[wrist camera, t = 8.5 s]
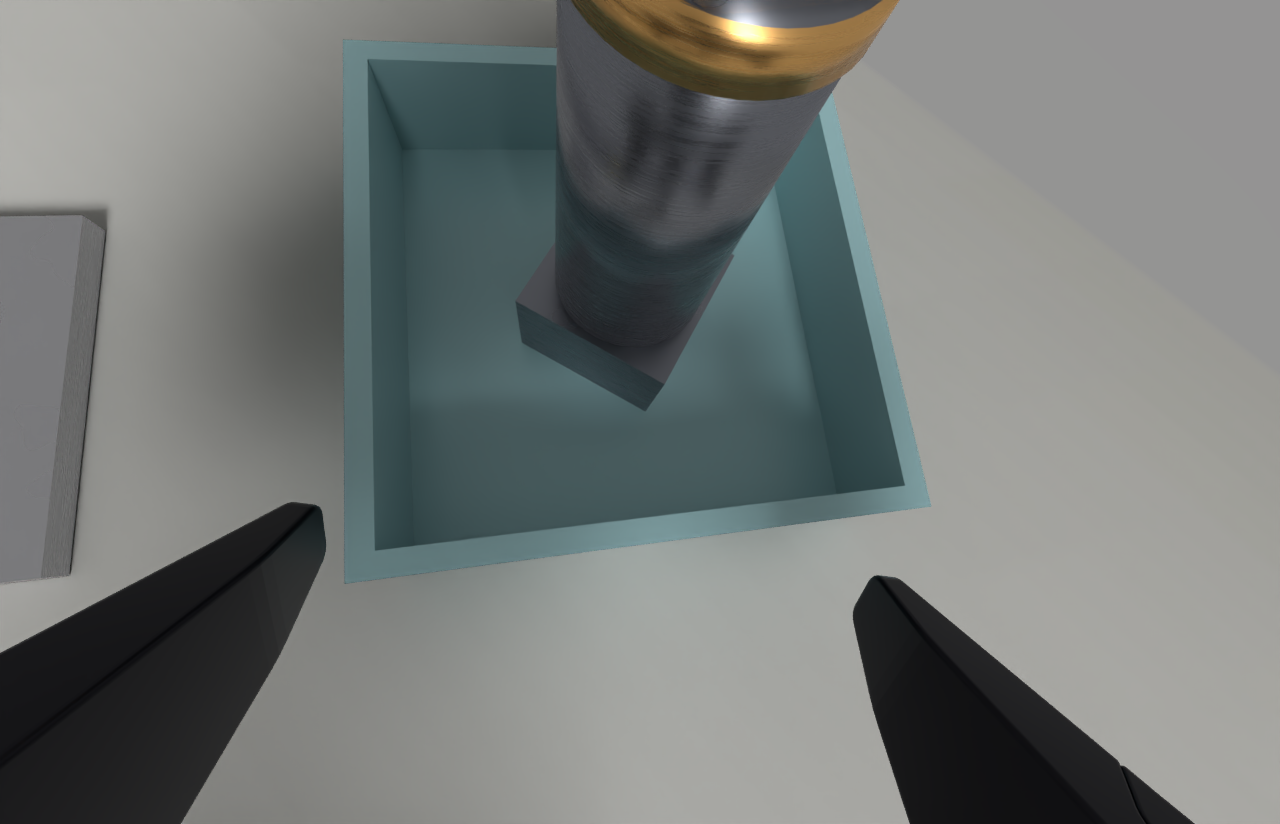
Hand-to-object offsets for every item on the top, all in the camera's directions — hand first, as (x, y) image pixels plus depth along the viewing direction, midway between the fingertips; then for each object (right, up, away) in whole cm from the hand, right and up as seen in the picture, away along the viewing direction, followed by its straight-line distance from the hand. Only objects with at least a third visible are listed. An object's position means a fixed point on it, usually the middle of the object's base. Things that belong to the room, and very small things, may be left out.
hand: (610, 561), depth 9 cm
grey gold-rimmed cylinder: (0, +5, +9) cm, 10 cm away
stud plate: (-20, +3, +5) cm, 21 cm away
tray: (0, +5, +9) cm, 10 cm away
